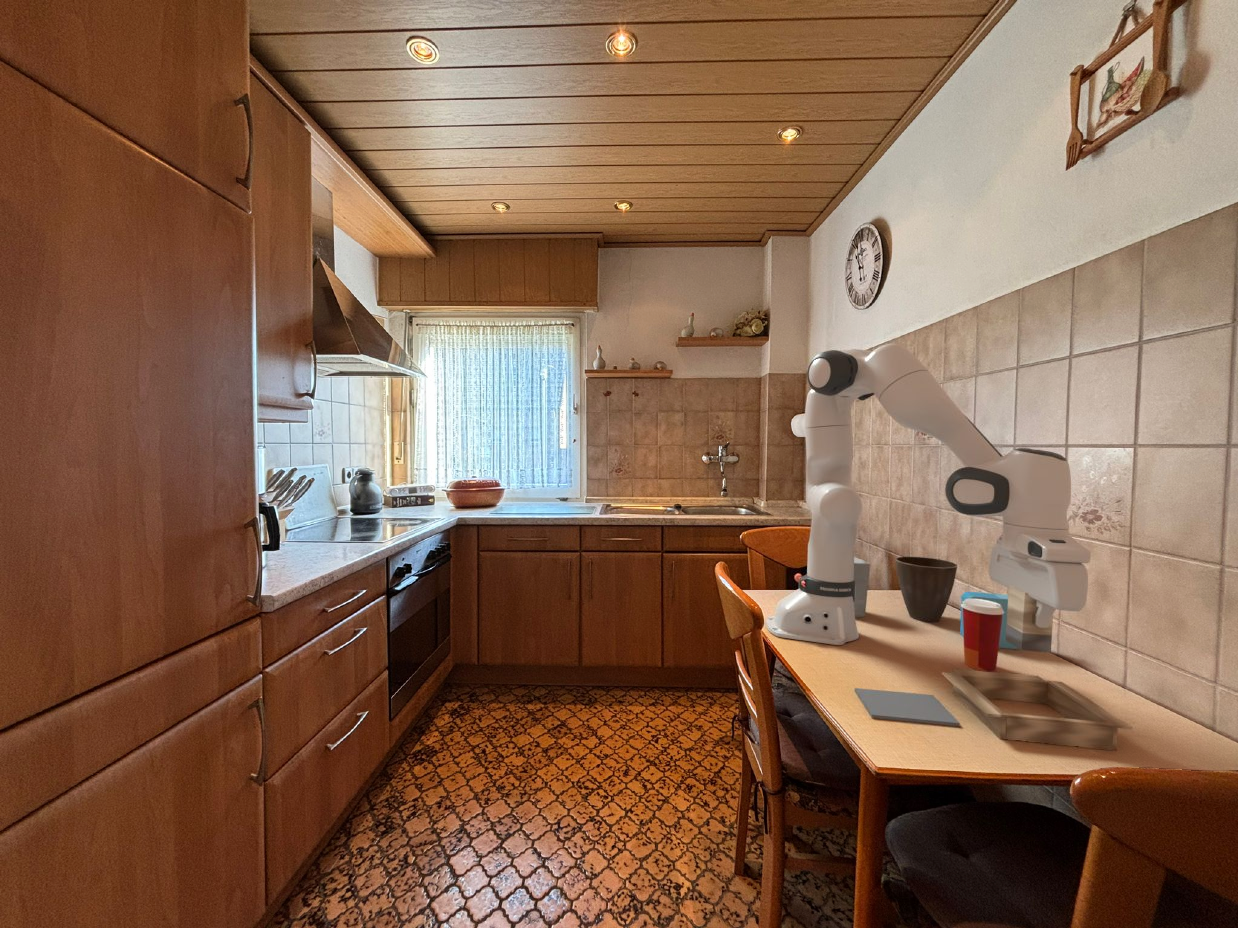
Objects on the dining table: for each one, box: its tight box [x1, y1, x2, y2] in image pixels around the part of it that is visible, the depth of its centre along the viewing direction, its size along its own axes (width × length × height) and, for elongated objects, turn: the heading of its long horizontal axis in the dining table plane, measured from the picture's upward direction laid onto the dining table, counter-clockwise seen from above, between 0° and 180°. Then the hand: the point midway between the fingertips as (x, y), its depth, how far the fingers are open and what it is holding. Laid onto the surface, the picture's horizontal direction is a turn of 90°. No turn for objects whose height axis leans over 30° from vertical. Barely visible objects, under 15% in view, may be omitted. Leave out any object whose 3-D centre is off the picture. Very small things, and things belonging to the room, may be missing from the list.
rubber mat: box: [854, 687, 961, 727], centre depth 91 cm, size 14×10×1 cm
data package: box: [959, 591, 1020, 651], centre depth 123 cm, size 12×4×12 cm, turn 72°
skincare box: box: [854, 556, 871, 618], centre depth 146 cm, size 8×7×16 cm
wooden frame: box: [941, 668, 1133, 752], centre depth 89 cm, size 21×18×4 cm
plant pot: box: [895, 556, 958, 623], centre depth 142 cm, size 15×15×16 cm
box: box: [1006, 586, 1054, 654], centre depth 88 cm, size 4×4×10 cm
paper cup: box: [960, 599, 1004, 672], centre depth 110 cm, size 8×8×14 cm
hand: (1028, 620), depth 88 cm, fingers closed on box, 4 cm apart
